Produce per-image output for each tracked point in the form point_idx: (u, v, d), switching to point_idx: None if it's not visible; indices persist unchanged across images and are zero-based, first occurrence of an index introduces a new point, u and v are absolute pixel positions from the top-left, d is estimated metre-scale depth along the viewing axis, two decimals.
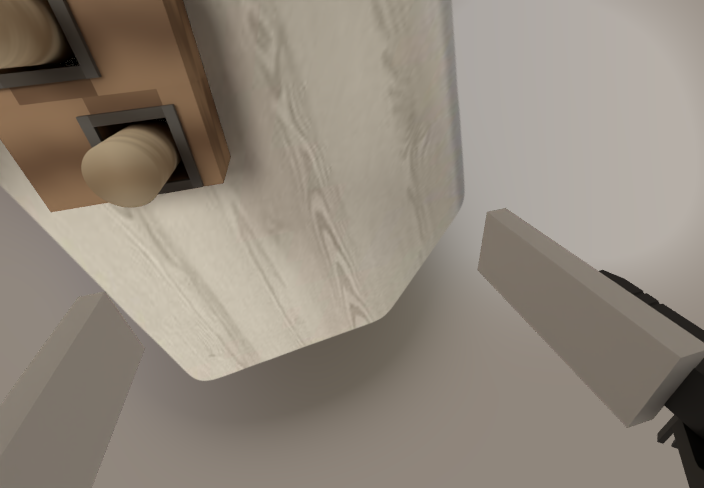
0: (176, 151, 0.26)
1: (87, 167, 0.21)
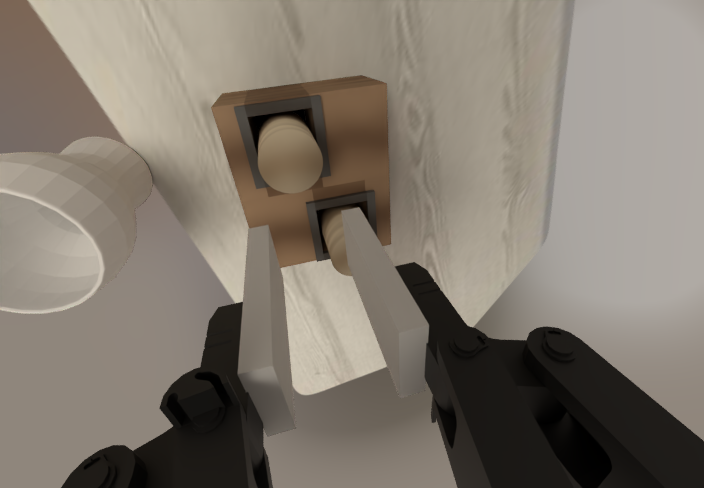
0: None
1: (336, 250, 0.27)
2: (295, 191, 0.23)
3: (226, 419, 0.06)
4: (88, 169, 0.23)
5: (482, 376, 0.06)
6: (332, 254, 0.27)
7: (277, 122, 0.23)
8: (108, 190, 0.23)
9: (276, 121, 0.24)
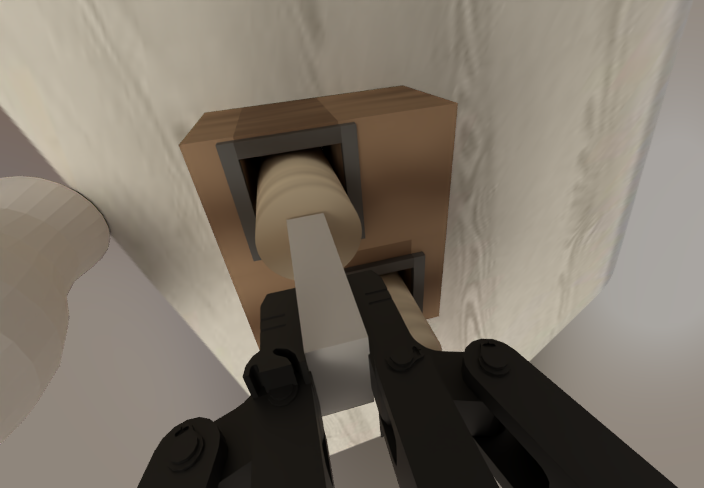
0: None
1: None
2: None
3: (299, 396, 0.06)
4: None
5: (417, 389, 0.06)
6: None
7: (287, 166, 0.15)
8: (0, 290, 0.13)
9: (285, 163, 0.15)
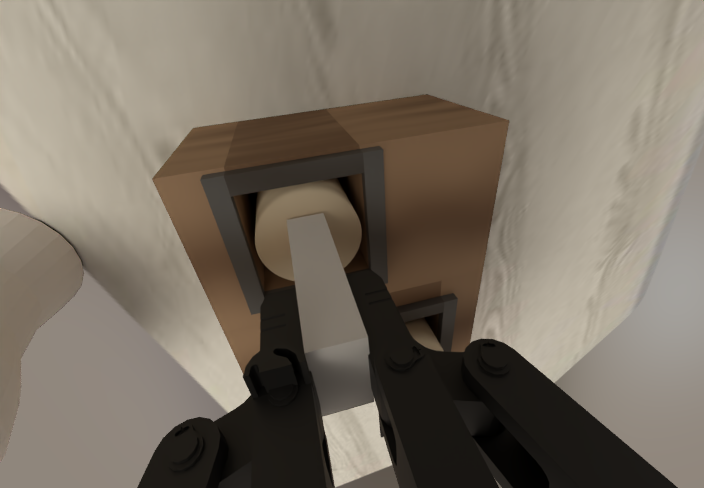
0: None
1: None
2: None
3: (299, 396, 0.06)
4: None
5: (417, 389, 0.06)
6: None
7: None
8: None
9: None
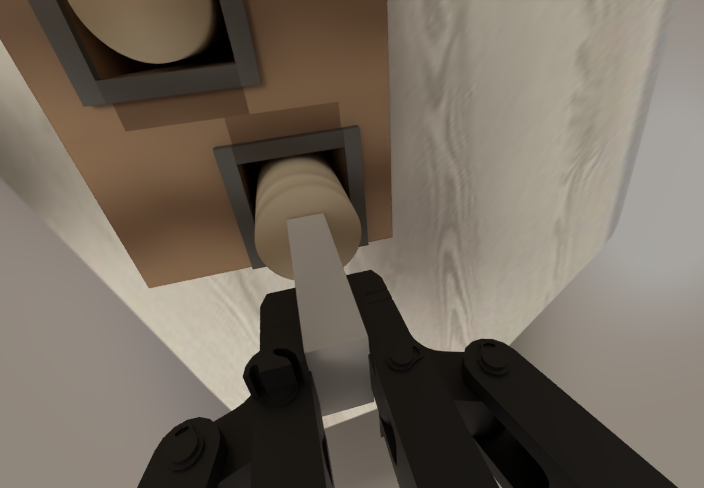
0: None
1: (264, 227, 0.13)
2: (160, 59, 0.12)
3: (299, 396, 0.06)
4: None
5: (417, 389, 0.06)
6: (256, 236, 0.13)
7: None
8: None
9: None
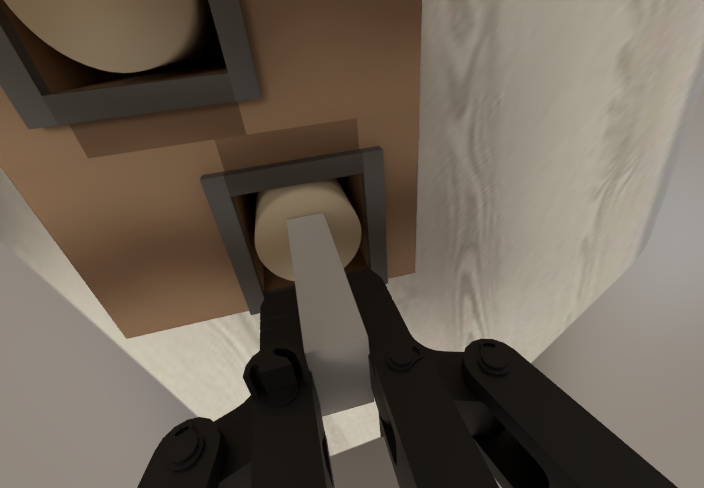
0: None
1: (264, 228, 0.13)
2: (128, 67, 0.09)
3: (299, 396, 0.06)
4: None
5: (417, 389, 0.06)
6: (256, 237, 0.13)
7: None
8: None
9: None
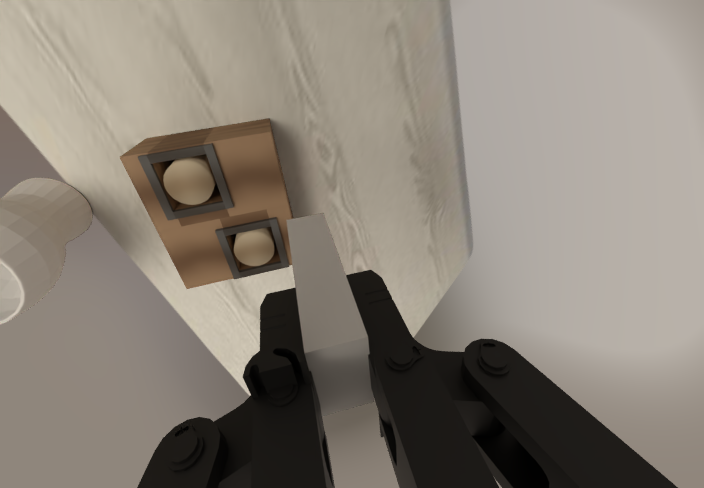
0: None
1: (237, 246, 0.36)
2: (195, 203, 0.33)
3: (299, 396, 0.06)
4: (16, 211, 0.28)
5: (417, 389, 0.06)
6: (234, 249, 0.36)
7: None
8: (32, 228, 0.28)
9: None
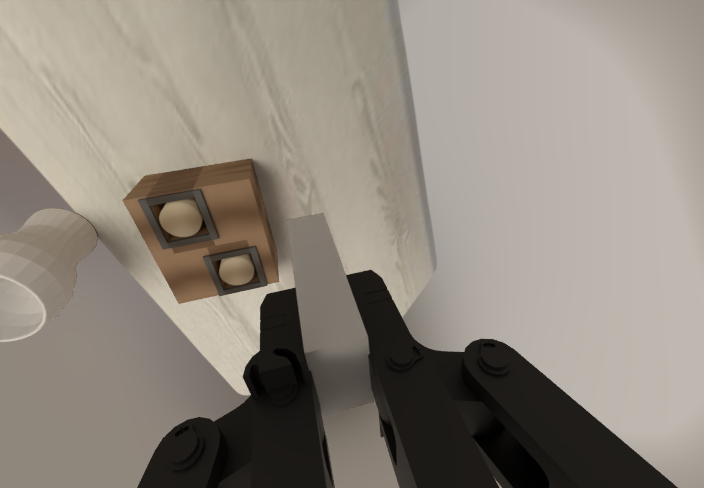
0: None
1: (222, 269, 0.43)
2: (186, 235, 0.39)
3: (299, 396, 0.06)
4: (37, 245, 0.34)
5: (417, 389, 0.06)
6: (219, 271, 0.43)
7: None
8: (51, 259, 0.34)
9: None
